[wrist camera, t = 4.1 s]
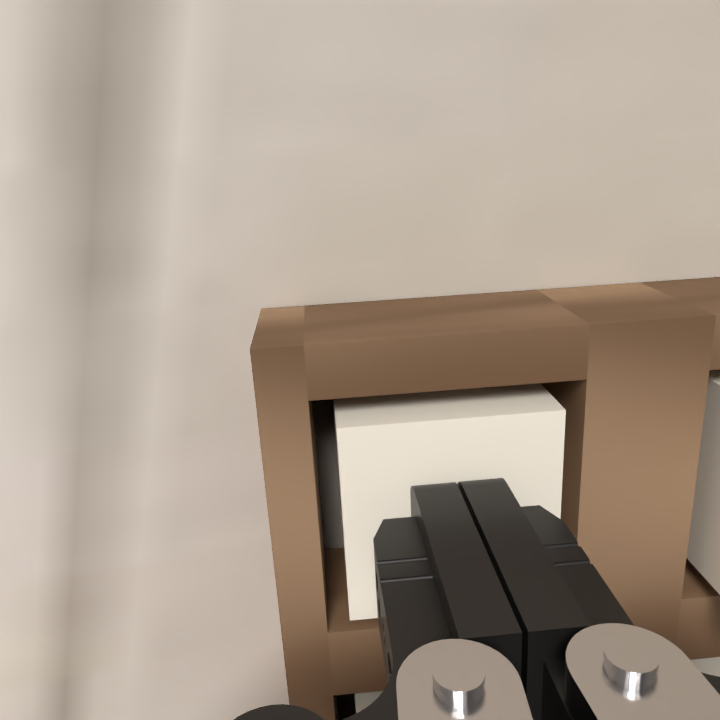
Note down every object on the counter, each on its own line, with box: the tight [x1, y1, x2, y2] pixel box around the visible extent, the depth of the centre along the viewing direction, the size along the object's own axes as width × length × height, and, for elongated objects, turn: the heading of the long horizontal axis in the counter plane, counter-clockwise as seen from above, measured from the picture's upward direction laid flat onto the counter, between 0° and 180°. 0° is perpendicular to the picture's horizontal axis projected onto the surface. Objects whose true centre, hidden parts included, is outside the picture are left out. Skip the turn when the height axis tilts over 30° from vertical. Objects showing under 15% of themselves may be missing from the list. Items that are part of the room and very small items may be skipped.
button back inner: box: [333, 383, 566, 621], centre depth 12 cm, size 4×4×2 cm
